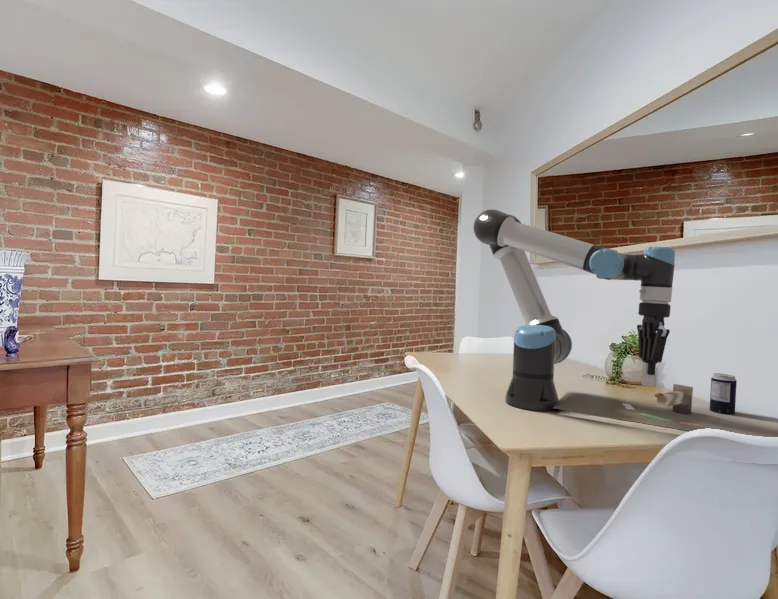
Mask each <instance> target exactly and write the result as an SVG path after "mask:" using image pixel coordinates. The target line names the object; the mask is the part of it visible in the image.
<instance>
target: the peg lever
mask: <svg viewBox="0 0 778 599" xmlns="http://www.w3.org/2000/svg"><path fill="white" fill-rule="evenodd" d="M693 391H694V387H693V386H689V385H683V384H677V383H673V386H672V391H669V392H666V393H665V392H664V393H661V392H659V393H655V394H654V397H655V398H656V407H657V408H663V409H667V408H668V407H672V409H671V410H672V412H675V413H677V414H682V415H683V414H684V415H691V414H692V408H693V406H692V405H693V403H692V402H693V394H694V393H693Z"/></svg>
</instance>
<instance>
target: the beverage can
mask: <svg viewBox="0 0 778 599" xmlns="http://www.w3.org/2000/svg"><path fill="white" fill-rule="evenodd" d="M737 382H738V381H737V379H736V375H732V374H728V373H713V375H712V376H711V379H710V395H709V396H710V397H709V411H710V412H712V413H716V414H719V415H726V416H727V415H728V416H730V415H731V416H734V415H735V414H736V403H737V402H736V400H737V399H736V398H737Z"/></svg>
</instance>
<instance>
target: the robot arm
mask: <svg viewBox="0 0 778 599" xmlns="http://www.w3.org/2000/svg"><path fill="white" fill-rule="evenodd" d="M473 233H474V235H475V237H476V239H477V240H478V241H479V242H481V243H482V244H486V245H488V246H489V247H490V250H491V253H492V255H493V257H494V258H496V259H498V260H499V261H500V263H501V266H502V268H503V272H504V273H505V275H506V278H507V280H508V283H509V286H510V288H511V291H512V294H513V296H514V297H515V301H516V303H517V305H518V308H519V310H520V313H521V316H522V318H523V321H524V322H525V325H520V326H519V327H517V328H516V329H515V330H514V335H513V355H512V357H513V360H512V376H511V379H510V382H509V385H508V387H507V389H506V394H505V403H507V404H508V403H509V404H508V405H510V406H512V405H513V406H512V407H515V406H516V407H515V408H519V409H523V410H531V411H541V412H542V411H543V412H546V411H555V410H556V408H555V406H558V405H559V403H560V399H559V396H558V392H557V389H556V386H555V382H554V373H555V365H557V364H559V363H560V364H561V363H562V362H563V361H565V360H566V359H567V358H568V357H569V355H570V354H571V351H572V349H573V342H572V338H571V336H570V334H569V332H567V331H566V330H565V329H564V328H563V327H562V324H561V323H560V319H559V317H557V316H555V315H553V314H552V313H551V310H550V309H549V306H548V304H547V301H546V299H545V297H544V294H543V292H542V289H541V288H540V285H539V282H538V280H537V278H536V274H535V272H534V270H533V268H532V266H531V263H530V260H529V258H528V255H527V254H526V252H527V253H531V254H533V255H535V256H536V255H537V256H539V257H543V258H545V259H548V260H551V261H555V262H558V263H559V264H560V263H561V264H563V265H567V266H570V267H573V268H575V269H579V270H582V271H585V272H588V273H590V274H593V275H595V276H596V278H597V279H599V280H607V281H611V280H612V281H613V280H615V281H640V289H639V300H640V301H641V302H639V303H638V315H639V316H641V317H642V316H643V318H642V321H641V324H637V326H636V328H637V329H636V330H637V333H638V334H637V335H638V336H637V337H638V338H637V340H638V343H637V344H638V357H639V359H641V361H642V368H641V369H642V370H641V372H642V373H641V383H640V384H641V385H642V386H644V387H655V380H656V379H655V378H656V366H657V364H659V363H661V362H662V360H663V356H664V352H665V348H666V342H667V340H668V337H669V335H670V332H671V331H670V329H666V327H665V318H670V315H671V305H670V304H669V303H671V302H672V295H673V285H674V284H673V282H674V273H675V265H676V264H675V260H676V258H675V257H676V256H675V255H676V253H675V252H676V251H675V249H673V248H672V247H667V246H648V247H644V250H643V252H642V254H641V253H639V254H630V253H629V254H628V253H627V254H625V253H624V254H623V253H620V252H619V251H617V250H616V249H612V248H609V247H608V248H606V247H603V246H600V245H599V246H598V245H595V244H593V243H589V242H586V241H583V240H579V239H577V238H573V237H569V236H566V235H563V234H559V233H555V232H552V231H548V230H545V229H542V228H538V227H536V226H531V225H529V224H525V223H522V222H521V220H520V219H518V218H517V217H516V216H514V215H513V214H512V215H511V214H508V213H505V212H502V211H500V210H498V209H492V208H491V209H487V210H483V211H481V213H479V214H478V215H477V217H476V218H475V220H474V223H473Z"/></svg>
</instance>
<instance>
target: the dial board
mask: <svg viewBox="0 0 778 599" xmlns="http://www.w3.org/2000/svg"><path fill="white" fill-rule="evenodd" d="M621 404H622V405H623V406H624V408H626V409H627V410H631V411H635V410H636V409H635V408H634V407H633V406H632V405H631V404H629V403H621ZM639 415H641V416H644V417H647V418H649V419H654V420H659V421H662V422H665V423H666V422H671V420H670V419H667V418H664V417H660V416H656V415H652V414H650V413H646V412H644V413H643V412H642V413H639ZM613 419H614V420H616V418H614V417H613ZM618 420H620V421H622V419H619V418H618ZM625 421H626V422H628V420H627V419H624V422H625ZM630 422H633V423H634V421H632V420H630ZM636 423H637V424H640V422H637V421H636ZM642 424H643V425H646V423H645V422H643V423H642ZM679 424H680V425H686V426H687V425H688V426H694V427H700V428H703V425H702V424H699V423H693V422H685V421H679ZM647 425H650V426H652V424H650V423H647ZM653 426H655V427H658V425H655V424H653ZM659 427H660V428H661V427H663V428H664V425H663V426H662V425H659ZM665 428H666V429H670V427H668V426H665ZM671 429H675V430H676V428H674V427H671ZM677 430H679V431H682V429H680V428H677ZM683 431H686V432H688V430H684V429H683Z"/></svg>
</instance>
